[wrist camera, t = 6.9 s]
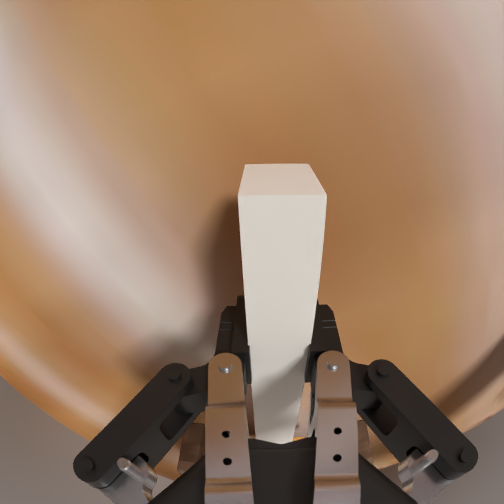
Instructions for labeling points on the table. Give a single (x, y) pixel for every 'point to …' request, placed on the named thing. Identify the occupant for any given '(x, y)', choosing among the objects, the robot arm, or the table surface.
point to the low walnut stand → (196, 441)
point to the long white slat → (280, 286)
